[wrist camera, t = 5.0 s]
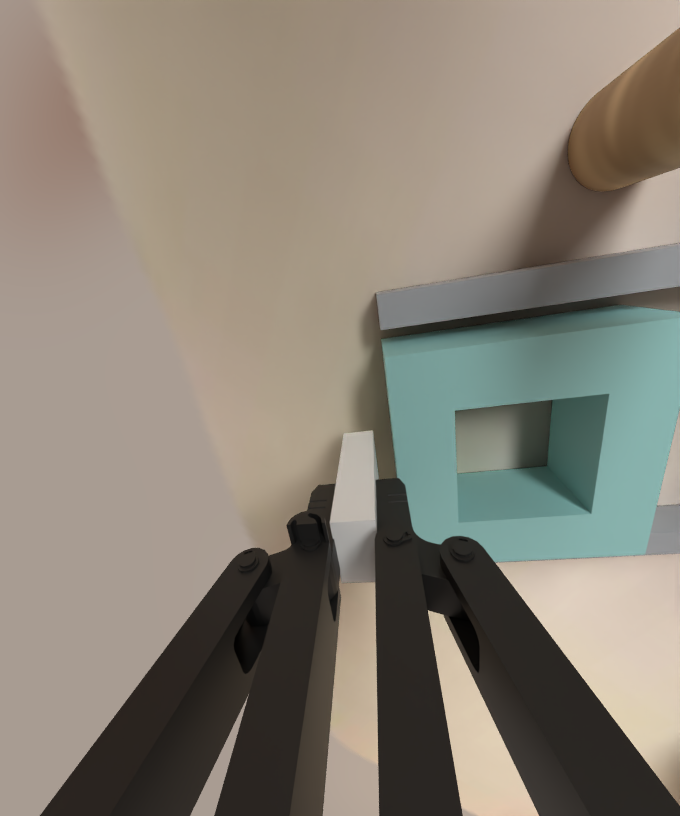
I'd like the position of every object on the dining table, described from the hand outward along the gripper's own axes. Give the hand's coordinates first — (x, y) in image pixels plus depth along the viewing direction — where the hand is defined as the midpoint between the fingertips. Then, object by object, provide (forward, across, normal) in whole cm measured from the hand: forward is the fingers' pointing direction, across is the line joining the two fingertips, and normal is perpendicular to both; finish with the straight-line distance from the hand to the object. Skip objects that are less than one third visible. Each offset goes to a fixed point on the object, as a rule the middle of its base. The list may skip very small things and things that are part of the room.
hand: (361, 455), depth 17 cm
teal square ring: (+2, +7, 0) cm, 7 cm away
